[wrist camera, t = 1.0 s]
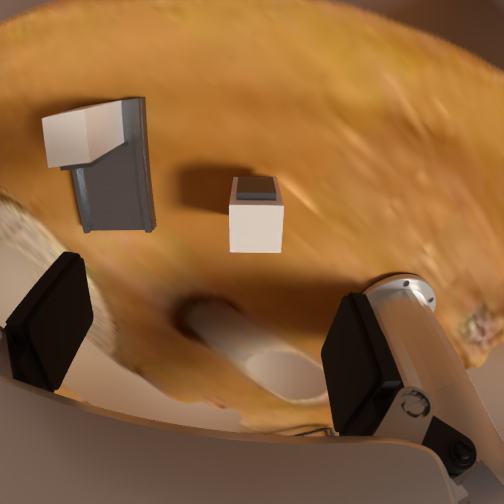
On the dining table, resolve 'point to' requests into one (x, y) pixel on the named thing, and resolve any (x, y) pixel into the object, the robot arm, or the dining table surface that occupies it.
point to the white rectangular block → (255, 215)
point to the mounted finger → (83, 135)
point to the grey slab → (119, 180)
